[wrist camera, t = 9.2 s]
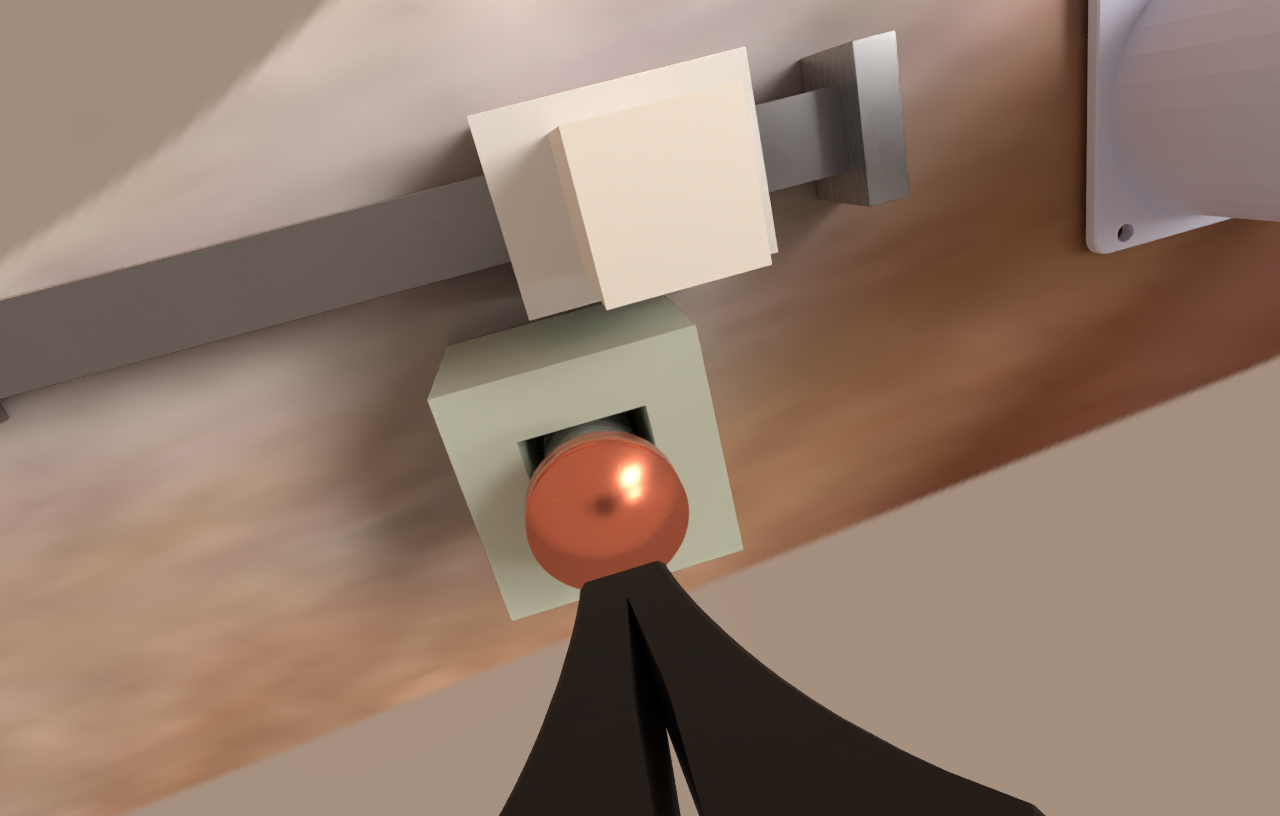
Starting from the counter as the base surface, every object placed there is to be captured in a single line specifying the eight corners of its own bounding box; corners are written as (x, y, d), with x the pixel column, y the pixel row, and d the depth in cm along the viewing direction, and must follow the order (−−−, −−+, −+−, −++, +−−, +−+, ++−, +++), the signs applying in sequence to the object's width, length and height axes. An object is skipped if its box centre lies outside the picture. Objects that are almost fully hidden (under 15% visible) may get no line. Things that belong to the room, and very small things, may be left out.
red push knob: (629, 354, 19) (670, 425, 14) (656, 463, 20) (702, 564, 15) (506, 388, 18) (504, 473, 13) (542, 497, 20) (552, 611, 15)
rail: (836, 50, 18) (895, 30, 15) (852, 190, 19) (909, 196, 16) (-123, 292, 16) (-255, 321, 13) (-31, 429, 17) (-135, 480, 15)
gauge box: (656, 288, 19) (696, 325, 15) (699, 473, 21) (743, 550, 17) (447, 346, 19) (427, 400, 15) (512, 529, 21) (511, 621, 17)
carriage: (707, 64, 17) (825, 8, 11) (738, 237, 19) (856, 280, 12) (474, 123, 17) (448, 101, 10) (527, 295, 18) (533, 371, 12)
